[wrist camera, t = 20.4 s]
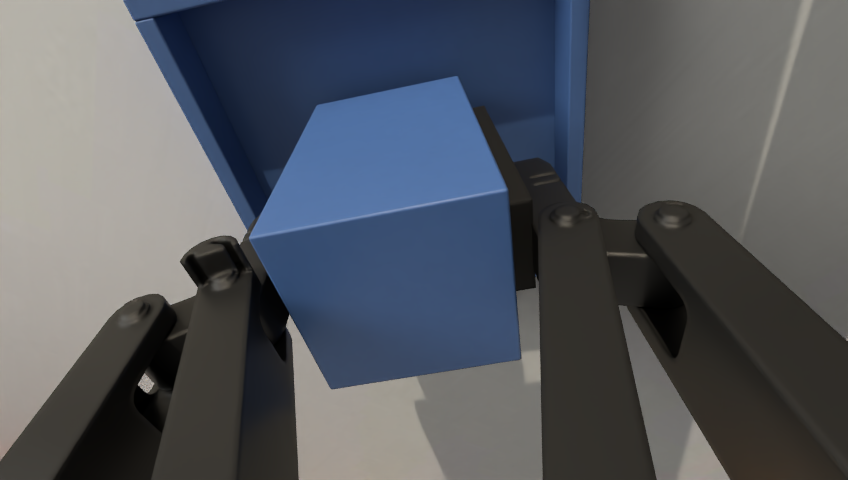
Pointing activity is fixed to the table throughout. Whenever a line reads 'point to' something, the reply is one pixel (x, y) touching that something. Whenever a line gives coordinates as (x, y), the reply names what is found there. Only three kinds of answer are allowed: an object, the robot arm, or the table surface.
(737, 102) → the table surface
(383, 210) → the blue block
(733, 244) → the robot arm
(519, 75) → the blue tray
